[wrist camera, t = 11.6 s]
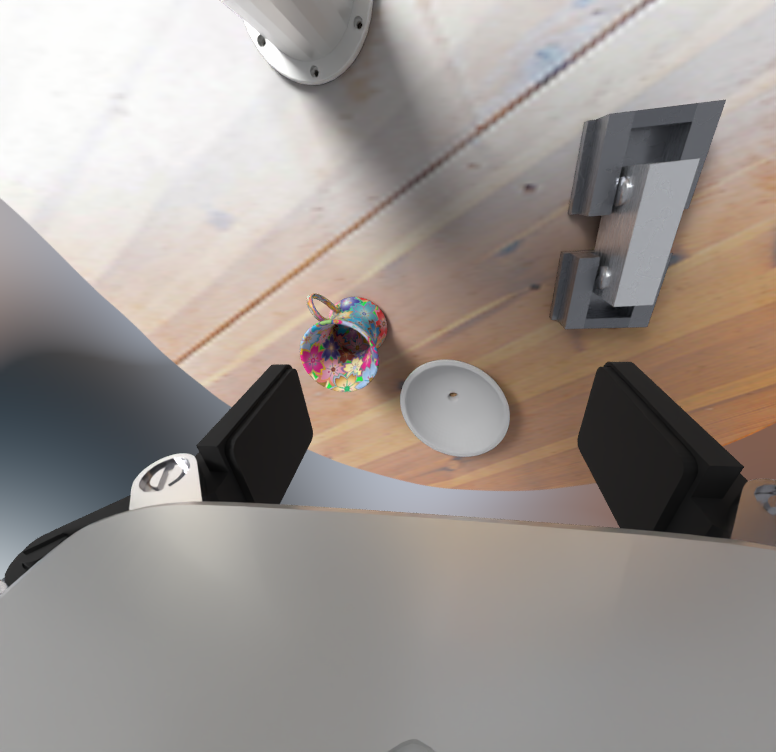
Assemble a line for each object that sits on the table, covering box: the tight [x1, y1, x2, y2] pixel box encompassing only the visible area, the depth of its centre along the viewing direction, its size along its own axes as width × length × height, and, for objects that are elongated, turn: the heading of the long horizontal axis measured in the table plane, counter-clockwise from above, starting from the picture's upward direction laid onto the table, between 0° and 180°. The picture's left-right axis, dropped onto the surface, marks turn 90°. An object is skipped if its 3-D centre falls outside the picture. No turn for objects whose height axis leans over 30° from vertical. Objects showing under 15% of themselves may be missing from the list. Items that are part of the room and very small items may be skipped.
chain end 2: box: [550, 250, 673, 329], centre depth 37 cm, size 8×10×4 cm
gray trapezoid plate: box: [592, 158, 700, 307], centre depth 32 cm, size 12×4×7 cm, turn 6°
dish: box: [400, 360, 510, 457], centre depth 47 cm, size 18×14×5 cm
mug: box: [300, 294, 387, 392], centre depth 41 cm, size 12×9×11 cm
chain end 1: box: [568, 100, 726, 216], centre depth 31 cm, size 8×10×4 cm
